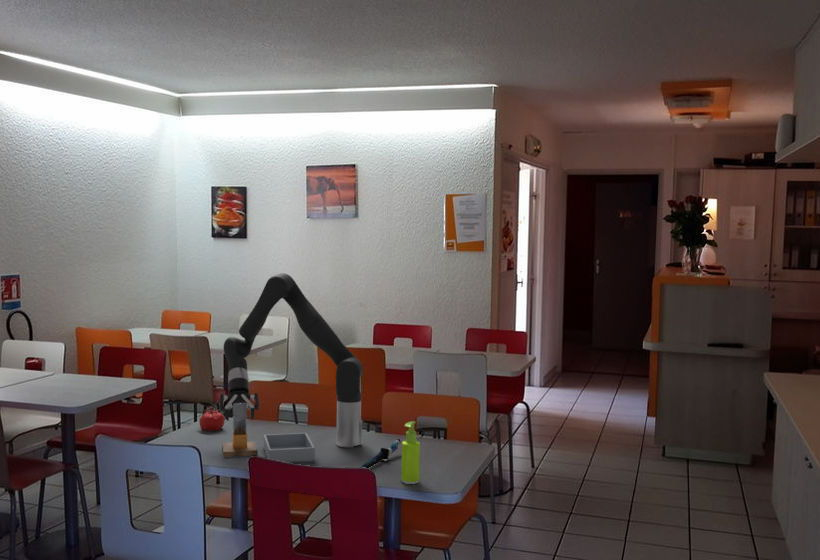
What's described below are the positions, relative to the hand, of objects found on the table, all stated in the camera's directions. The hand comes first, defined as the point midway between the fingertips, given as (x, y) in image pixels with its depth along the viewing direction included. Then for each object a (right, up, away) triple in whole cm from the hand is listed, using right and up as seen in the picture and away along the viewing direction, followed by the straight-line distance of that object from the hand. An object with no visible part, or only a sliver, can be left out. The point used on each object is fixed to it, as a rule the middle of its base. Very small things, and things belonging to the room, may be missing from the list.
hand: (239, 419), depth 283 cm
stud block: (0, -12, 0) cm, 12 cm away
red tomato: (-18, -10, +31) cm, 37 cm away
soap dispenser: (+62, -15, -30) cm, 71 cm away
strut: (0, -10, 0) cm, 10 cm away
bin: (+18, -12, -2) cm, 22 cm away
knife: (+52, -14, -10) cm, 55 cm away
